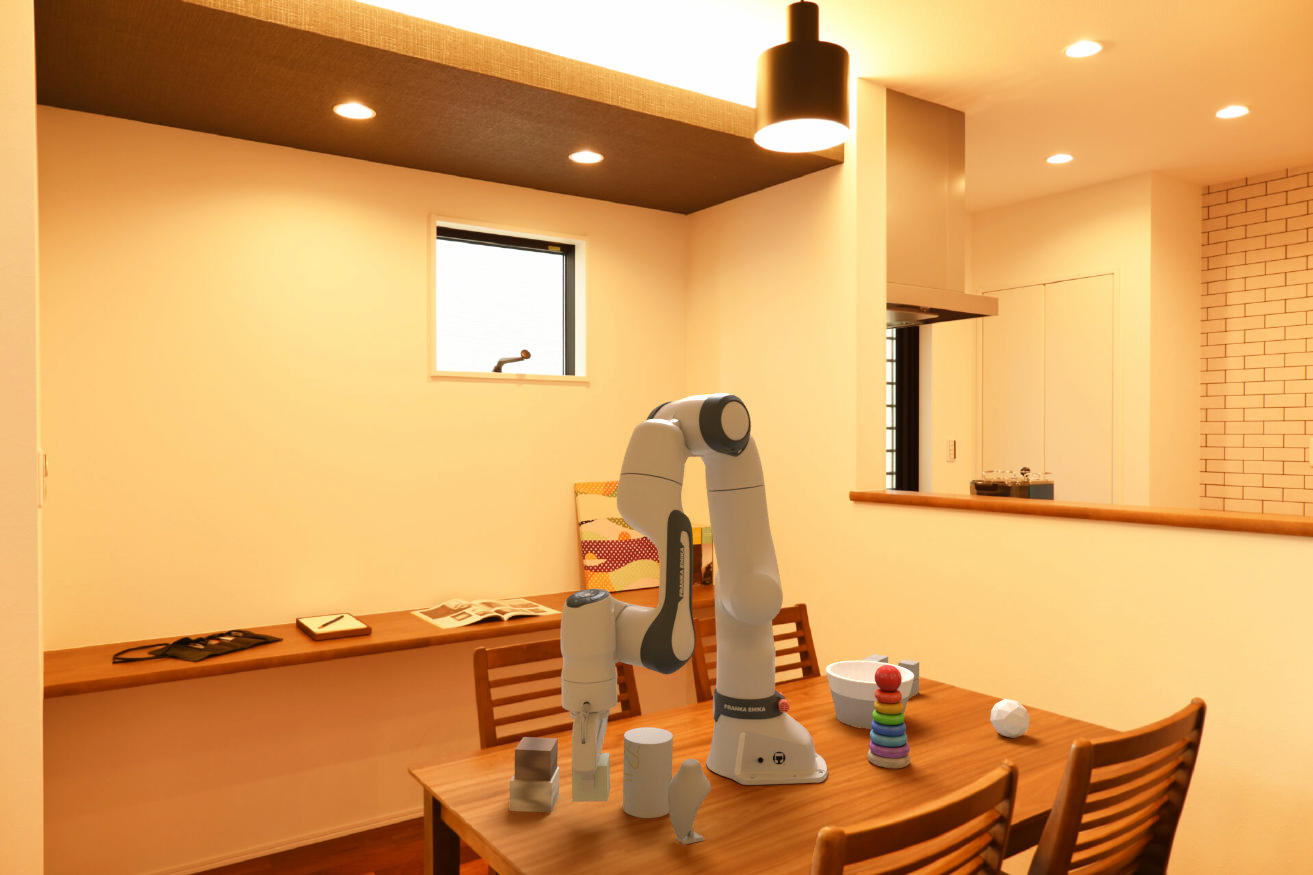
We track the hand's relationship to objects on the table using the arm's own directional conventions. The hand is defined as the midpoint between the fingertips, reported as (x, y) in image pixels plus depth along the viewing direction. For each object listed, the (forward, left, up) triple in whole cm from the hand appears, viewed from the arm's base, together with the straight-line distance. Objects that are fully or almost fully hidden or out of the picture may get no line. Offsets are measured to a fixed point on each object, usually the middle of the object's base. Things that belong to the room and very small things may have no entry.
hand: (591, 780), depth 137 cm
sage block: (0, 0, -2) cm, 2 cm away
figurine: (-16, +4, -7) cm, 17 cm away
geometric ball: (-83, -50, -7) cm, 97 cm away
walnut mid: (+10, -7, -2) cm, 13 cm away
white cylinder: (-9, -7, -7) cm, 13 cm away
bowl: (-55, -58, -7) cm, 80 cm away
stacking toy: (-54, -32, -7) cm, 63 cm away
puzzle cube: (-63, -79, -7) cm, 101 cm away
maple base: (+10, -7, -7) cm, 15 cm away
